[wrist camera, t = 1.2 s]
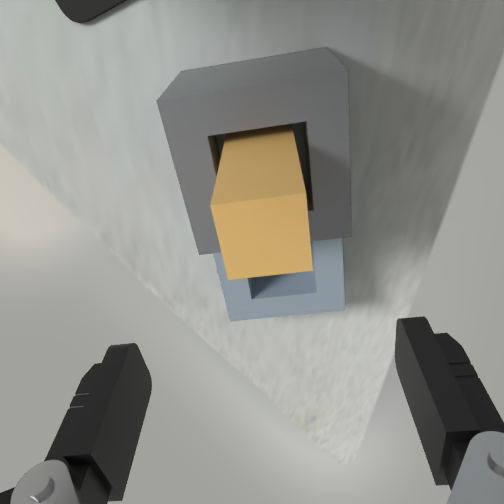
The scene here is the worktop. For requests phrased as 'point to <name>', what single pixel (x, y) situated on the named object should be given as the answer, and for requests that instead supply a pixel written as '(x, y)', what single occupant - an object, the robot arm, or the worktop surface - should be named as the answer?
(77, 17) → the phone
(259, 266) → the plug
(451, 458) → the robot arm
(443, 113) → the worktop surface
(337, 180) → the socket block
